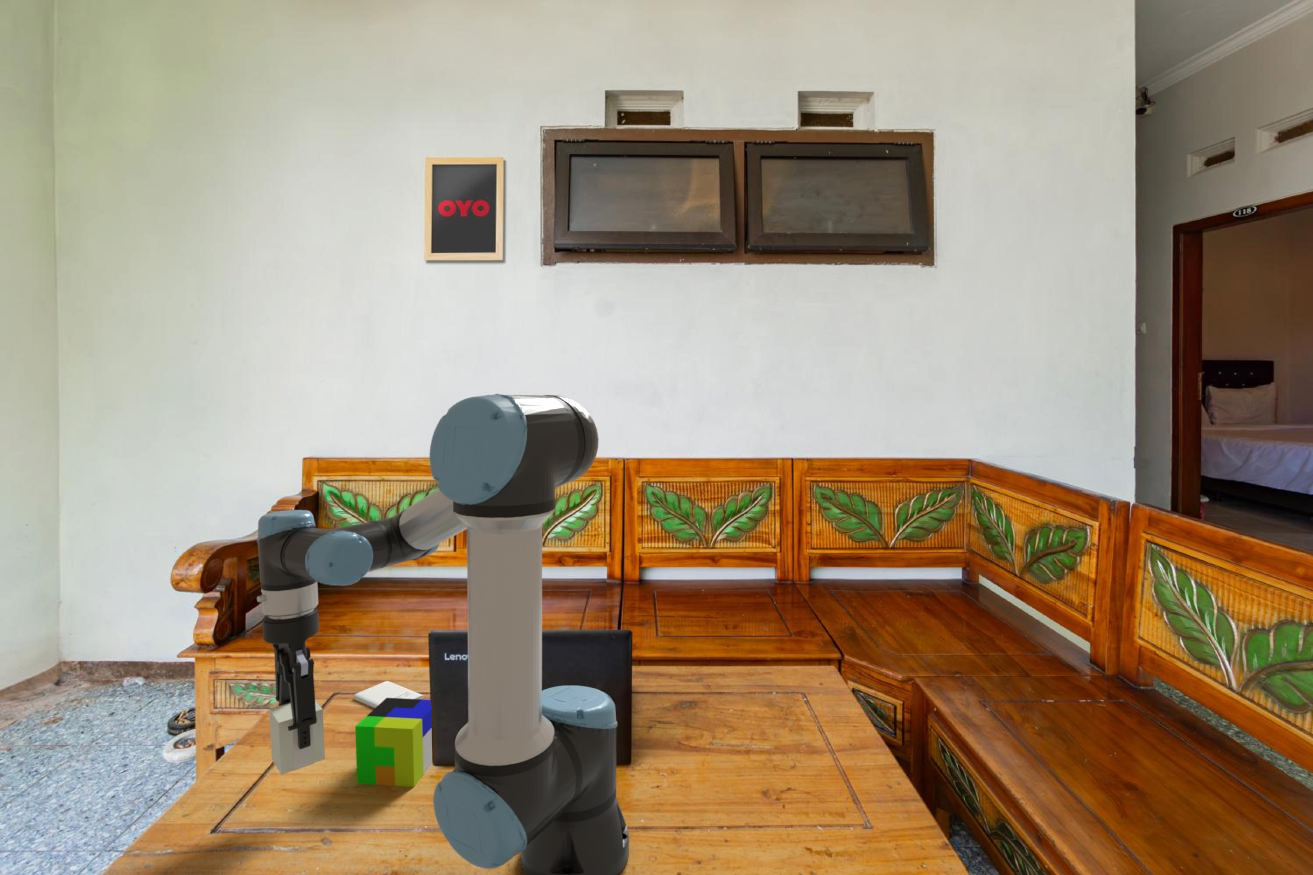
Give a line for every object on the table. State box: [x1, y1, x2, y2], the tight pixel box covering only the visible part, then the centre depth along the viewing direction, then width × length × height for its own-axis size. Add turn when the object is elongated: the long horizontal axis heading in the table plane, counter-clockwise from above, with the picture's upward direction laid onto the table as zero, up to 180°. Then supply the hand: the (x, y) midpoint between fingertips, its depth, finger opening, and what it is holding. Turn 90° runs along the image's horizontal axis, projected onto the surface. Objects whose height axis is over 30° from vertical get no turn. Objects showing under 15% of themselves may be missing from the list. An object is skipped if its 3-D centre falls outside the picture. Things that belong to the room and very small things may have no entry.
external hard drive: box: [353, 680, 425, 709], centre depth 136 cm, size 2×8×12 cm
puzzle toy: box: [354, 698, 433, 788], centre depth 110 cm, size 10×10×10 cm
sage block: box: [268, 700, 326, 776], centre depth 99 cm, size 6×6×8 cm
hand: (297, 756), depth 99 cm, fingers closed on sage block, 6 cm apart
